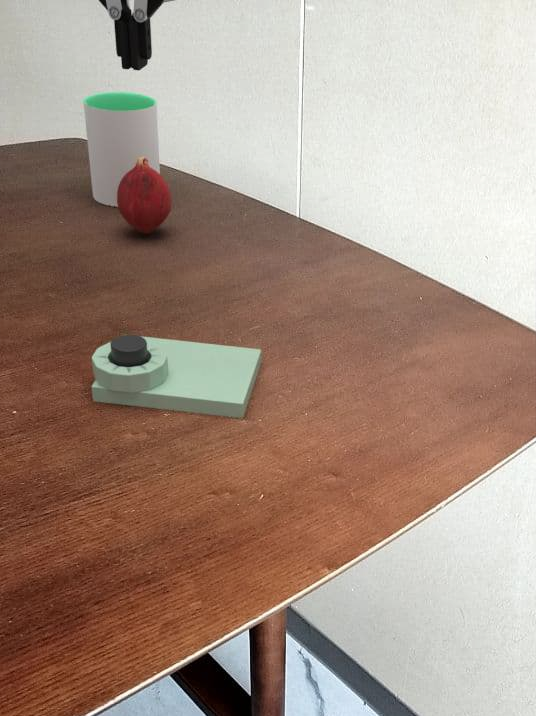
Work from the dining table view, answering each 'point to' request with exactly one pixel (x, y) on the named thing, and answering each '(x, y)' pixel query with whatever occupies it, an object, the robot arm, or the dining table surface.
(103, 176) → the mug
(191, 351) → the green dial panel
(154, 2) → the robot arm
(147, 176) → the onion
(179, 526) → the dining table surface
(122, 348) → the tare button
